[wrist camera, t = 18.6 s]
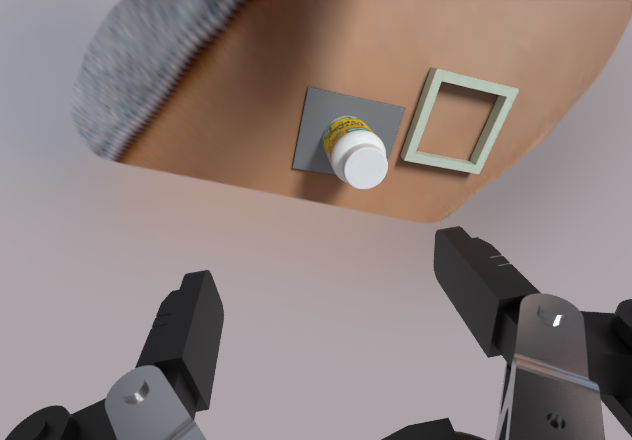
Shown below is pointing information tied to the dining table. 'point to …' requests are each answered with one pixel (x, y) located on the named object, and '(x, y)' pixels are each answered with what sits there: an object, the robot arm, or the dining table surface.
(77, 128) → the dining table surface
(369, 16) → the dining table surface
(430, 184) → the dining table surface
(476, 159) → the pale green square frame
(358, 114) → the mat
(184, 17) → the dining table surface
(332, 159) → the supplement bottle
